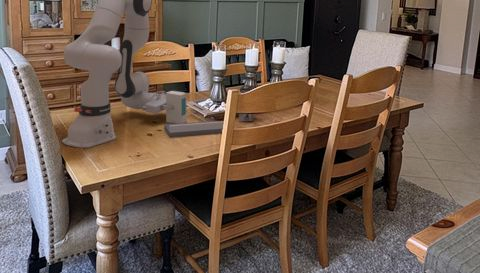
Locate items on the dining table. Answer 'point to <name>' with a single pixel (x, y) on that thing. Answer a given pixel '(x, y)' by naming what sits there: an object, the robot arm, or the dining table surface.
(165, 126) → the shelf
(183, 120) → the carton
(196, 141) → the dining table surface
